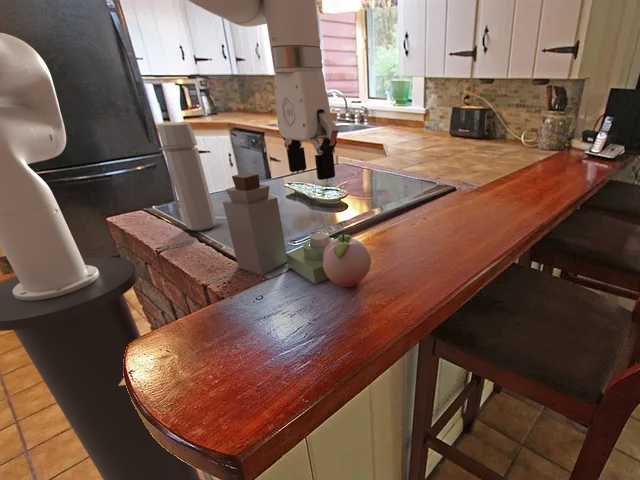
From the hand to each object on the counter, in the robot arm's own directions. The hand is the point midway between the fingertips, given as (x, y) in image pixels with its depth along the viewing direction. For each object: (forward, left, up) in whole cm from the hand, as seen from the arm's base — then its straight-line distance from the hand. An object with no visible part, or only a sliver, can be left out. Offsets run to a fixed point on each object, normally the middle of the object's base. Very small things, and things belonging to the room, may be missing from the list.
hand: (311, 174), depth 64 cm
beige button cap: (0, 0, -14) cm, 14 cm away
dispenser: (0, 0, -18) cm, 18 cm away
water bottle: (-43, -10, -18) cm, 48 cm away
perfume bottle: (-10, -8, -18) cm, 22 cm away
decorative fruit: (+10, -1, -18) cm, 21 cm away
